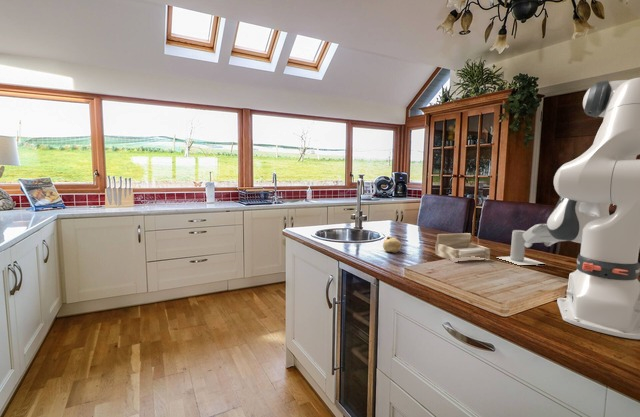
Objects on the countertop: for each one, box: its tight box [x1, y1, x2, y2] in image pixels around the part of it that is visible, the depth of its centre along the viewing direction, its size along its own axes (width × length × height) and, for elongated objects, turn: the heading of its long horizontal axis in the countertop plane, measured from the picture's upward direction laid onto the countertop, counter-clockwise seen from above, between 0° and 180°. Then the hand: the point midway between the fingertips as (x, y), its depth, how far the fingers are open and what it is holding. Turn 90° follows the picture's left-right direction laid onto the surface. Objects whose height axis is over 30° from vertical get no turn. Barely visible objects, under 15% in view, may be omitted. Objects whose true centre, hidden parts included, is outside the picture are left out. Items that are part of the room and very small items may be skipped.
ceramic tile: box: [496, 255, 546, 266], centre depth 134 cm, size 12×12×1 cm
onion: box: [382, 236, 402, 254], centre depth 147 cm, size 8×8×7 cm
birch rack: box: [434, 232, 491, 260], centre depth 139 cm, size 14×16×9 cm
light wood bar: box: [457, 248, 485, 258], centre depth 134 cm, size 4×12×4 cm, turn 104°
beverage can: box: [510, 229, 527, 261], centre depth 133 cm, size 5×5×12 cm
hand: (536, 245), depth 126 cm, fingers open, 8 cm apart
